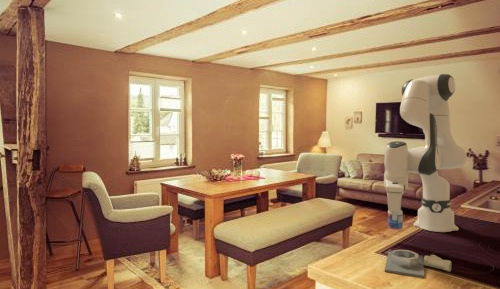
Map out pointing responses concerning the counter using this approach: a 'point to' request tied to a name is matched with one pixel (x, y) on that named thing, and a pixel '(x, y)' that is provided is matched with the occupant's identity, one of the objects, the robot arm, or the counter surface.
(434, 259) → the pipe fitting
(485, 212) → the counter surface
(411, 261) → the steel collar
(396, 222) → the pill bottle
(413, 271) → the mat
